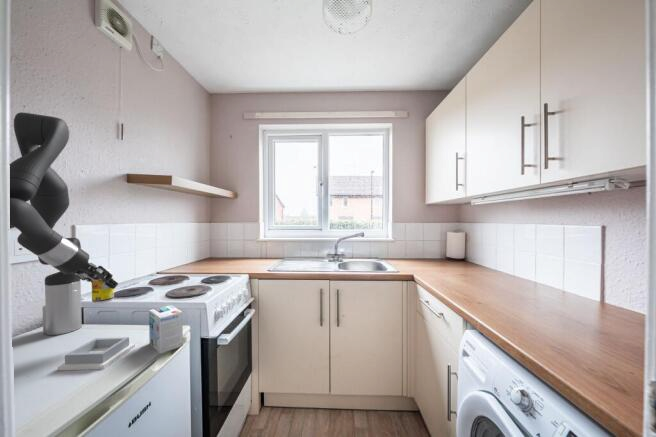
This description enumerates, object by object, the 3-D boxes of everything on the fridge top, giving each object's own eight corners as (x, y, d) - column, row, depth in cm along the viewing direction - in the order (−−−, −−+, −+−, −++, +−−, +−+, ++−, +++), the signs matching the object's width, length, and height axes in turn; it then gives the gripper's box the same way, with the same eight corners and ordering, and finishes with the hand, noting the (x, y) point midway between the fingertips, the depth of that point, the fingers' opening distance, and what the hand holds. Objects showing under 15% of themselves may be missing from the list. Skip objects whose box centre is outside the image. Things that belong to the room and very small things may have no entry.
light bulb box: (148, 343, 86) (148, 309, 86) (171, 336, 91) (171, 304, 91) (159, 354, 79) (158, 317, 79) (184, 346, 84) (183, 311, 84)
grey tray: (57, 370, 72) (57, 357, 72) (95, 348, 84) (94, 336, 84) (104, 368, 72) (103, 355, 72) (134, 346, 84) (134, 335, 84)
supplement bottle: (88, 302, 87) (88, 270, 87) (109, 297, 92) (108, 267, 92) (96, 305, 85) (95, 272, 85) (117, 300, 89) (116, 269, 89)
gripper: (90, 245, 79) (132, 277, 90) (59, 244, 83) (102, 274, 95) (68, 267, 74) (115, 297, 85) (36, 264, 78) (85, 294, 90)
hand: (108, 285), depth 90 cm, fingers closed on supplement bottle, 5 cm apart
